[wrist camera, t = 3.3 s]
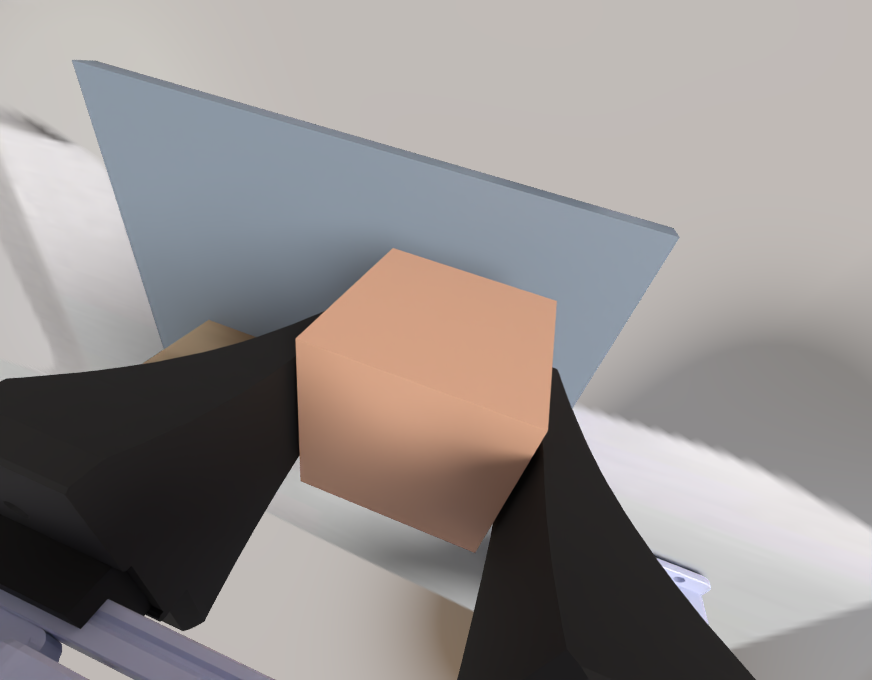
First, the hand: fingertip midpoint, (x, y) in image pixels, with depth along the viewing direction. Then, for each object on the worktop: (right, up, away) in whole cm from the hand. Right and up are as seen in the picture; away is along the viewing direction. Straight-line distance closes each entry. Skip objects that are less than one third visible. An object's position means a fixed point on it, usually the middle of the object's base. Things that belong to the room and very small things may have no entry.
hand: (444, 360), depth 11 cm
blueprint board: (-4, +1, +6) cm, 8 cm away
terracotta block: (0, +1, +1) cm, 1 cm away
